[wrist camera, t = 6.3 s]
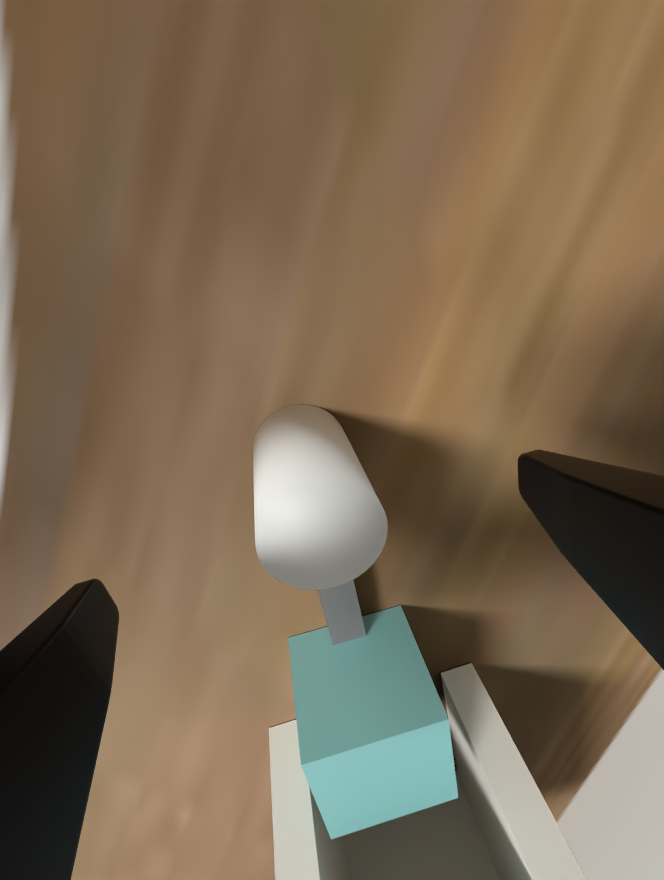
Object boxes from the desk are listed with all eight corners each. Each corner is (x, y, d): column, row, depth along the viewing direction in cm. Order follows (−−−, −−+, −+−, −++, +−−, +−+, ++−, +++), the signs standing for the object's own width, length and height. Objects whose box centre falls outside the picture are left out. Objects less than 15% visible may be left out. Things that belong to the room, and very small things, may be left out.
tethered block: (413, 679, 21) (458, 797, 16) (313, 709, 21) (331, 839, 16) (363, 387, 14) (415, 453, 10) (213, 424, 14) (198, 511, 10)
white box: (484, 777, 26) (596, 1028, 18) (319, 833, 25) (354, 1122, 17) (471, 662, 21) (614, 930, 13) (268, 728, 21) (282, 1053, 12)
